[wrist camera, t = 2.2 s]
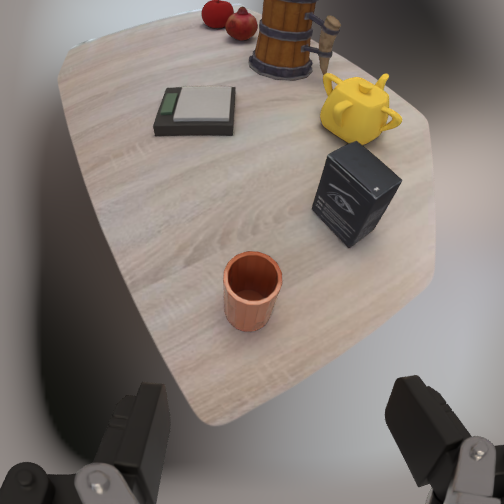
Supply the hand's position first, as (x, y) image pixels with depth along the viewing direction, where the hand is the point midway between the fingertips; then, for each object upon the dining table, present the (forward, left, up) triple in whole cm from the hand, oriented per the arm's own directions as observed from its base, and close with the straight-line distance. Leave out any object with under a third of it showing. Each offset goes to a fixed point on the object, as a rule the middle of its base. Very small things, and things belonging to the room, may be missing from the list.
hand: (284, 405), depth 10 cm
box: (+13, +25, -24) cm, 37 cm away
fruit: (-2, +82, -24) cm, 85 cm away
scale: (-9, +47, -24) cm, 53 cm away
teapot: (+19, +46, -24) cm, 55 cm away
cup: (0, +12, -24) cm, 27 cm away
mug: (+9, +66, -24) cm, 71 cm away
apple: (-9, +93, -24) cm, 96 cm away
